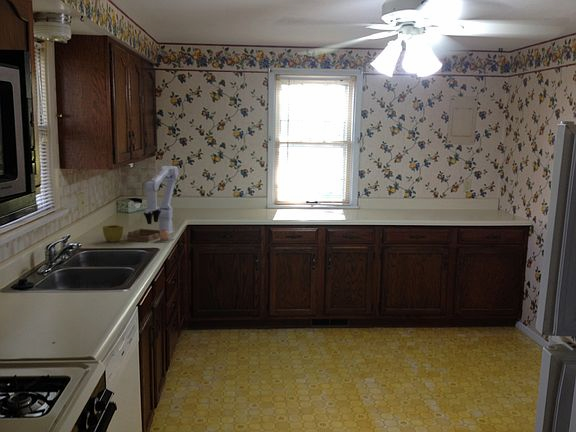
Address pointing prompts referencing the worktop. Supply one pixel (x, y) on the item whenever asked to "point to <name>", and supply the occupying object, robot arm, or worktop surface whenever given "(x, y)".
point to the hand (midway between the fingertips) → (152, 223)
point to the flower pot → (113, 232)
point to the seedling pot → (164, 235)
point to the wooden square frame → (143, 235)
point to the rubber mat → (164, 241)
